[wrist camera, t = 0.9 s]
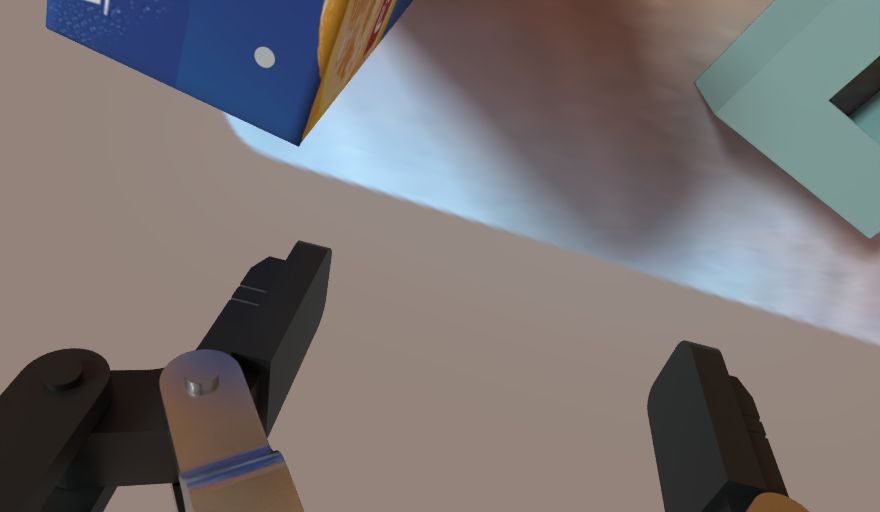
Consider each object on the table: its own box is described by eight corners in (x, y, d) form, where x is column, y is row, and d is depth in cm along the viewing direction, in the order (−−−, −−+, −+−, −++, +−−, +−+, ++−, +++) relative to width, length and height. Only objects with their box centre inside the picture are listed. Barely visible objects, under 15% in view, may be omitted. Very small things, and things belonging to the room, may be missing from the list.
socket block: (890, -118, 29) (949, -111, 25) (1041, 35, 32) (1116, 64, 27) (694, 82, 35) (714, 114, 31) (833, 195, 38) (869, 238, 34)
